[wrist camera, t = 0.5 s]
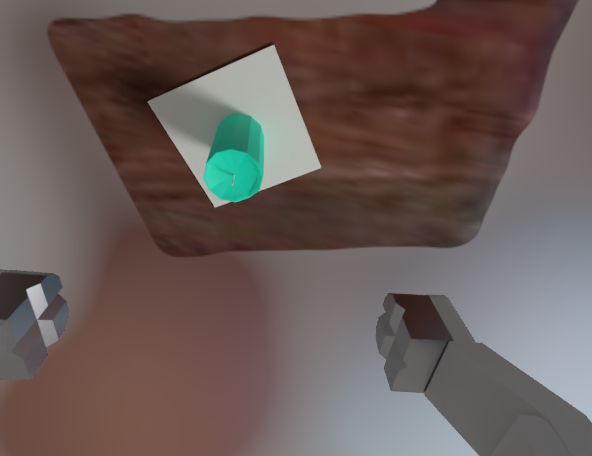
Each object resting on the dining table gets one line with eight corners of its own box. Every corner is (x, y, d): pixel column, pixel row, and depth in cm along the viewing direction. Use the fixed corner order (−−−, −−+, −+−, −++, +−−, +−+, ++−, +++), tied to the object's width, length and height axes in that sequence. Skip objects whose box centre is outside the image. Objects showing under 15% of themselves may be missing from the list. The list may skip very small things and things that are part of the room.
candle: (218, 159, 46) (205, 210, 36) (213, 113, 42) (196, 156, 33) (265, 159, 46) (264, 210, 37) (263, 113, 43) (262, 156, 33)
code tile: (147, 100, 41) (147, 101, 41) (273, 44, 38) (273, 44, 38) (215, 206, 50) (215, 207, 50) (321, 166, 48) (321, 167, 47)
